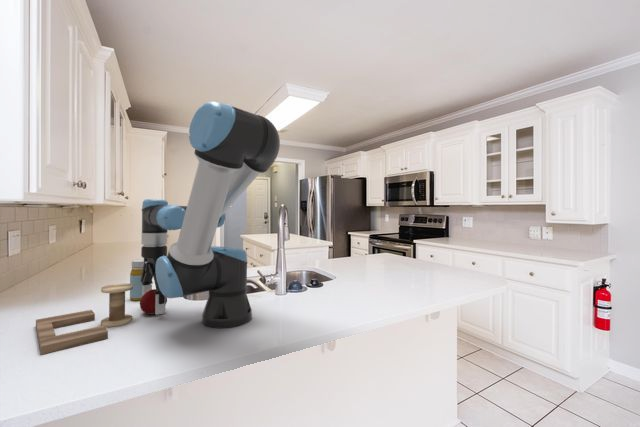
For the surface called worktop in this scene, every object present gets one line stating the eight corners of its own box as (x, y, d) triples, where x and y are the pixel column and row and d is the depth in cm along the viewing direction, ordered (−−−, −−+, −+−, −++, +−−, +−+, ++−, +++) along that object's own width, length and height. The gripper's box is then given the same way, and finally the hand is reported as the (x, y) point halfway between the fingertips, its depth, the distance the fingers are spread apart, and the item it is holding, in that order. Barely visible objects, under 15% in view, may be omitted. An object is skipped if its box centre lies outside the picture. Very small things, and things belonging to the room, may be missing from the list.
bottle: (154, 296, 117) (155, 259, 117) (142, 301, 110) (143, 262, 110) (138, 295, 118) (139, 258, 118) (125, 300, 111) (126, 261, 111)
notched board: (107, 338, 78) (107, 330, 78) (40, 354, 69) (40, 346, 69) (91, 315, 95) (91, 309, 95) (35, 326, 86) (35, 319, 86)
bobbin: (135, 322, 90) (136, 286, 90) (103, 329, 84) (104, 291, 84) (128, 315, 96) (129, 282, 96) (98, 321, 90) (98, 286, 90)
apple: (144, 319, 93) (145, 294, 93) (136, 313, 98) (137, 289, 98) (170, 313, 98) (170, 289, 98) (161, 308, 104) (161, 285, 104)
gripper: (180, 248, 92) (179, 315, 92) (154, 241, 110) (153, 297, 110) (154, 250, 87) (153, 321, 87) (131, 242, 104) (130, 302, 104)
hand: (153, 308), depth 98 cm, fingers open, 13 cm apart
